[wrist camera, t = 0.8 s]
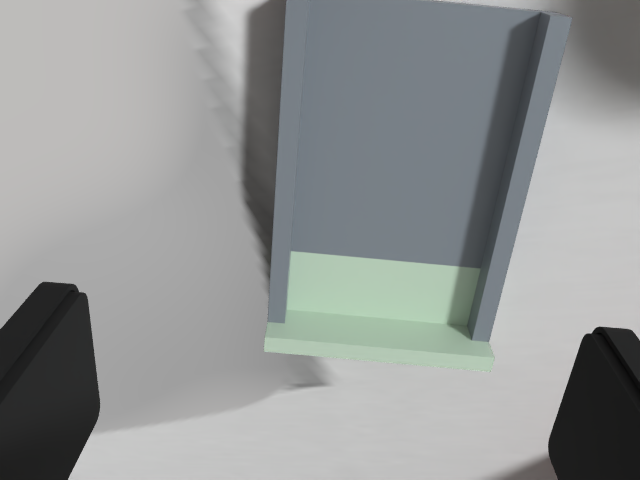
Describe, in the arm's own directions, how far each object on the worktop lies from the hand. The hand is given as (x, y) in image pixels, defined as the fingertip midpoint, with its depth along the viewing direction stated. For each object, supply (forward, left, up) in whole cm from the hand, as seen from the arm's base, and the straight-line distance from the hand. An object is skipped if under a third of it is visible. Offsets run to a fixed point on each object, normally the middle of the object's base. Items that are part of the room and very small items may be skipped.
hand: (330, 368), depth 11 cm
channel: (+4, +4, -23) cm, 23 cm away
